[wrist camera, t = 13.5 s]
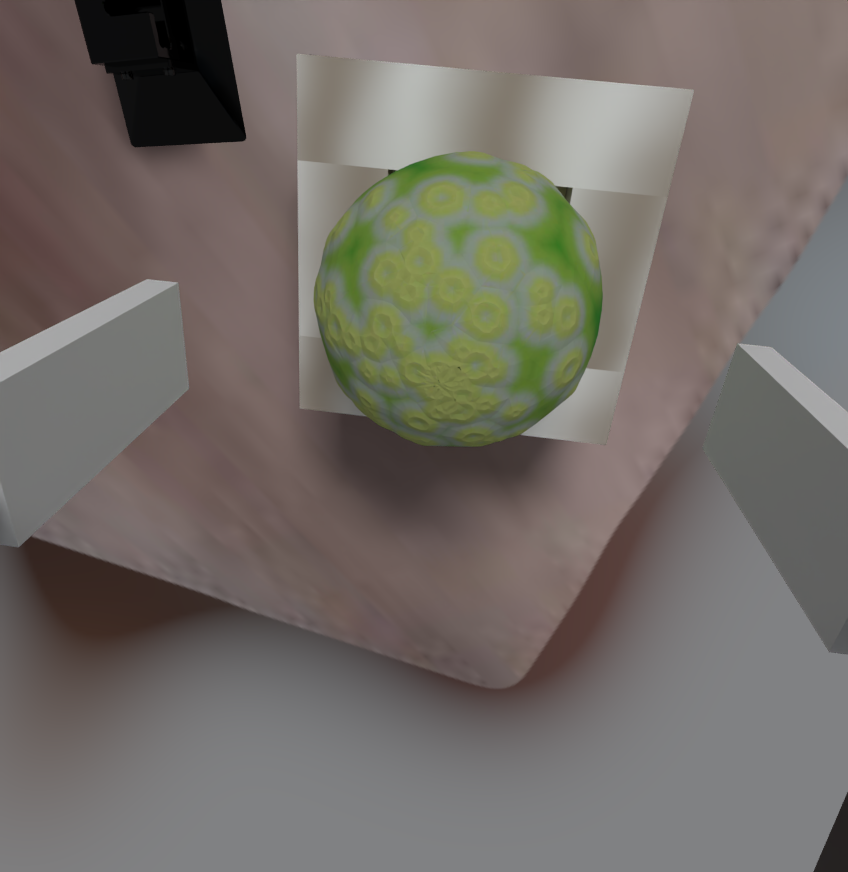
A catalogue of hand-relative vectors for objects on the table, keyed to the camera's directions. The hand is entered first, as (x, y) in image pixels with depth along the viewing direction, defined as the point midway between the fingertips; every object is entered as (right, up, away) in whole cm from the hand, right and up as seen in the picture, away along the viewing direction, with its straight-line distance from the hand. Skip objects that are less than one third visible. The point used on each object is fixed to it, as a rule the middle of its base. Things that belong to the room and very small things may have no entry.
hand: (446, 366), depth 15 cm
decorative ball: (+1, +6, +11) cm, 13 cm away
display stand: (+2, +9, +17) cm, 19 cm away
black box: (-13, +18, +15) cm, 27 cm away
